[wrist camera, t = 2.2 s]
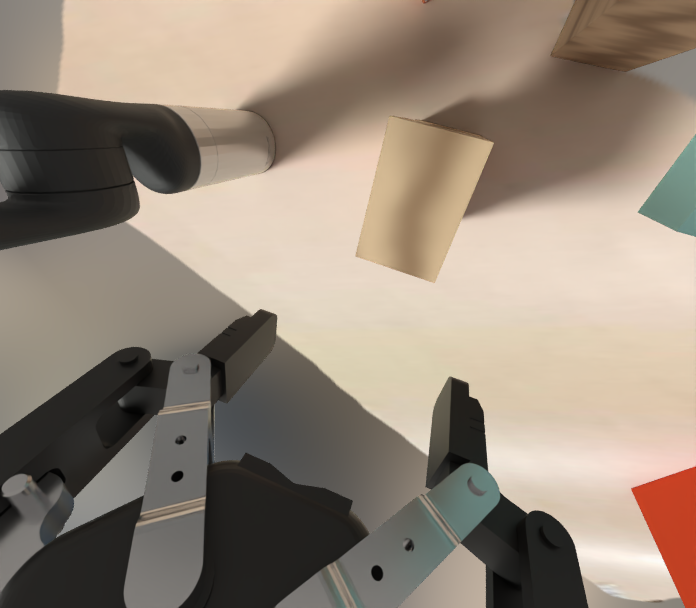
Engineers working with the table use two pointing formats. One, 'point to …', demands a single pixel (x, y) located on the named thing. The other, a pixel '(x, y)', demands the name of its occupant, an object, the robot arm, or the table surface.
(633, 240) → the table surface
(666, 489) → the file binder
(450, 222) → the block
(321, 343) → the table surface
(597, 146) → the table surface
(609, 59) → the wooden moulding block
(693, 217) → the batten
